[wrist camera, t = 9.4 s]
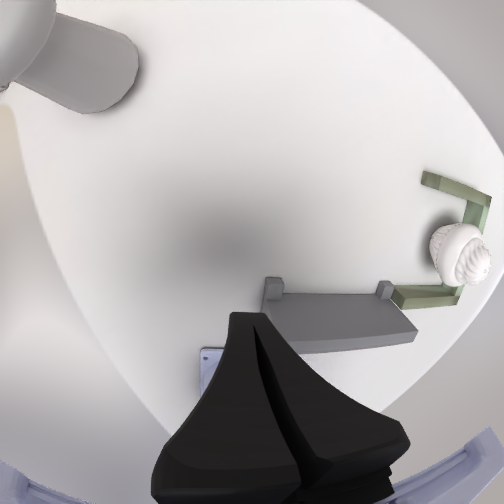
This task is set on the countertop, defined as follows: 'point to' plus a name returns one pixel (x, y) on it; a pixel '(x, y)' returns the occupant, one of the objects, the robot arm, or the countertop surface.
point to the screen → (336, 319)
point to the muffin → (460, 254)
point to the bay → (473, 215)
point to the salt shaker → (64, 56)
